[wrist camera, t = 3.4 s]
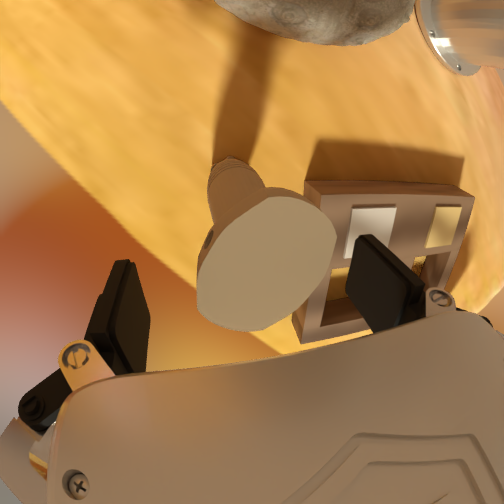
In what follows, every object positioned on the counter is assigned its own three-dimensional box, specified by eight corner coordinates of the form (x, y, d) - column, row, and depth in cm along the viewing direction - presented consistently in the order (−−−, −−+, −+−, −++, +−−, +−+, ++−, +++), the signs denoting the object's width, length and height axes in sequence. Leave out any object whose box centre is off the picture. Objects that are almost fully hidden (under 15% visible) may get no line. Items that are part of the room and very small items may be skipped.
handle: (186, 192, 24) (174, 311, 11) (223, 128, 21) (257, 172, 9) (233, 214, 25) (270, 340, 13) (271, 155, 23) (357, 234, 10)
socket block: (304, 180, 25) (322, 196, 21) (454, 185, 28) (476, 198, 24) (291, 320, 34) (301, 346, 31) (420, 293, 37) (435, 311, 34)
